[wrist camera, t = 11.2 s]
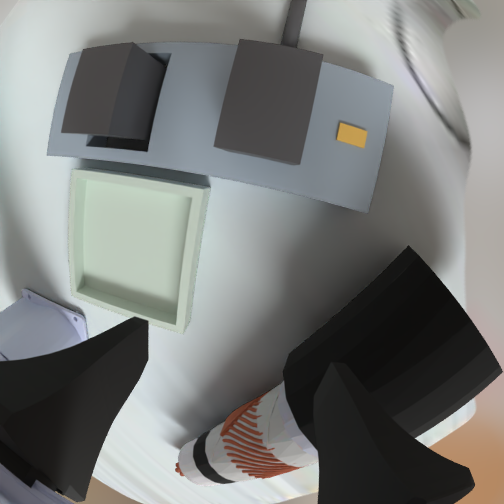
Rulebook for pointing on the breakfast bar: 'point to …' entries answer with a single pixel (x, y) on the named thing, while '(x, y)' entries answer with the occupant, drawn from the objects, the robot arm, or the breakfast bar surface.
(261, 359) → the breakfast bar surface
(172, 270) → the tray
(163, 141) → the power strip
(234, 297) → the breakfast bar surface
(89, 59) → the plug
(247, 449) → the black white cylindrical piece
